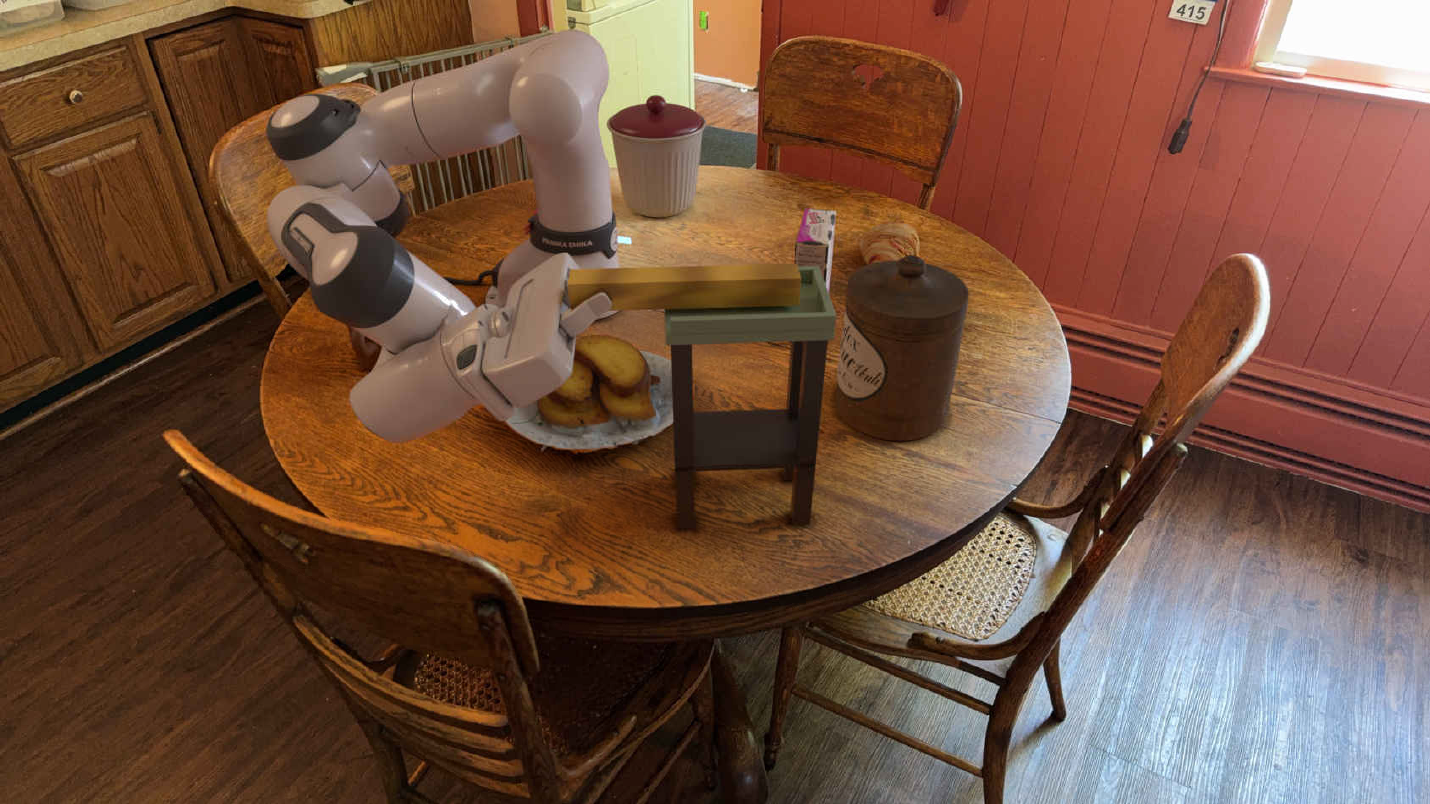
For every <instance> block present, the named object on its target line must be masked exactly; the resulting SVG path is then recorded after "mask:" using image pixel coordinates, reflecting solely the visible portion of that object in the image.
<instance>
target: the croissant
mask: <svg viewBox="0 0 1430 804" xmlns="http://www.w3.org/2000/svg"><path fill="white" fill-rule="evenodd" d="M920 246H921V245H920V238H919V234H918V232H917V231H916V229H915V228H914V227H912V226H911V225H910V224H907V223H906V222H905V221H904V220H899V219H898V220H897V219H895V220H894V221H887V222H886V221H885V222H881V223H880V224H877V225H875V226H873V227H872V228H870V229H868V230H867V231H866V232H865V233H864V234H863V235H862V236H861V238H860V240H859V250H860V253H862V254H861V255H862V256H861V257H862V260H863V261H864V262H865V265H868V264H871V263H875V262H880V261H888V260H900V259H901V258H903V257H906V256H908V255H915V256H918V257H919V256H920ZM919 258H920V257H919Z"/></svg>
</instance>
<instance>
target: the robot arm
mask: <svg viewBox="0 0 1430 804" xmlns="http://www.w3.org/2000/svg"><path fill="white" fill-rule="evenodd" d="M609 81H610V69H609V61H608V57H607V54H606V52H605V50H604V47H603V46H602V44H601V43H600V42H599V41H598V40H597V39H596V38H595V37H594V36H592V35H591V34H589V33H588V32H586V31H583V30H579V29H564V30H560V31H556V32H554V33H551V34H548V35H545V36H542V37H539V38H536V39H533V40H531V41H528V42H525V43H522V44H520V45H517V46H513V47H511V48H508V49H506V50H504V51H500V52H498V53H496V54H493V55H490V56H488V57H486V58H484V59H481V60H478V61H475V62H473V63H470V64H467V65H464V66H460V67H457V68H453V69H449V70H446V71H442V72H439V73H435V74H432V75H428V76H424V77H420V78H417V79H414V80H409V81H407V82H404V83H401V84H399V85H397V86H394V87H392V88H389V89H386V90H384V91H383V92H380V93H379V94H377V95H375V96H373V97H371V98H369V99H367V101H365V102H364V103H362V104H361V105H359V104H358V103H357V102H355V101H354V100H352V99H348V98H338V97H336V96H333V95H329V94H324V93H307V94H306V93H305V94H303V95H300V96H298V97H297V96H296V97H295V98H293V99H291V100H288V101H286V102H285V103H284V104H282V105H281V106H280V107H279V108H277V109H276V110H275V111H274V112H273V113H272V114H271V116H270V117H269V119H268V121H267V125H266V128H265V134H266V137H267V140H268V143H269V144H270V146H271V149H272V150H273V152H274V154H275V156H276V157H277V158H278V159H279V160H281V161H282V163H283V165H284V166H285V168H286V170H287V171H288V172H289V174H290V176H291V178H292V179H293V180H294V182H295V183H296V185H293V186H289V187H287V188H284V189H283V190H282V191H280V192H278V193H277V194H276V195H275V196H274V197H273V199H272V200H271V201H270V204H269V206H268V207H267V211H266V226H267V230H268V233H269V235H270V238H271V240H272V242H273V244H274V245H275V247H276V249H277V250H278V252H279V253H280V255H281V256H282V257H283V259H285V261H286V262H287V263H288V264H289V266H291V267H292V268H293V269H294V270H295V271H296V273H298V274H299V275H300V276H301V277H303V278H304V279H305V280H307V282H308V284H309V290H310V295H311V298H312V301H313V303H314V305H315V307H316V308H317V310H318V311H319V312H320V313H323V314H324V315H325V316H327V317H329V318H331V319H333V320H335V321H337V322H339V323H340V324H343V325H345V326H346V327H347V326H350V327H351V328H353V329H355V330H356V331H358V332H360V333H361V334H363V335H364V336H366V337H368V338H369V339H371V340H373V341H374V342H376V343H377V344H379V345H381V346H382V349H381V353H380V356H379V358H378V361H377V363H376V365H375V366H374V368H373V370H370V372H369V373H367V374H366V375H365V376H364V377H362V378H361V379H360V380H359V381H357V382H356V384H355V385H354V386H353V387H352V388H351V390H350V392H349V397H348V398H349V403H350V407H351V409H352V410H353V413H354V415H355V416H356V418H357V419H358V420H359V422H360V423H361V424H362V425H363V427H365V429H366V430H368V431H369V432H370V433H372V434H374V435H375V436H377V437H379V438H380V439H382V440H384V441H386V442H389V443H392V444H403V443H408V442H412V441H416V440H419V439H421V438H423V437H426V436H429V435H431V434H433V433H436V432H437V431H440V430H442V429H443V428H446V427H447V426H449V425H451V424H453V423H454V422H457V421H458V420H460V419H461V418H463V417H464V416H465V415H466V414H467V412H468V411H470V410H471V409H472V408H474V407H475V408H476V407H478V406H483V408H485V410H486V411H488V412H489V413H490V414H491V415H492V416H493V417H494V418H495V419H496V420H498V421H499V422H503V421H505V420H507V419H509V418H510V417H512V416H514V415H515V414H516V413H517V411H518V408H522V407H525V406H527V405H530V404H531V403H533V402H535V401H537V400H539V399H541V398H542V397H544V396H546V395H548V394H549V393H551V392H553V391H554V390H556V389H557V388H559V387H560V386H561V385H562V384H563V383H564V382H565V381H566V380H567V379H568V378H569V377H570V376H571V374H572V369H573V361H574V353H575V344H576V340H577V337H578V335H581V334H582V333H584V332H585V331H586V330H587V329H588V328H589V327H590V326H591V325H592V324H593V323H594V322H595V321H598V320H601V319H605V318H608V317H610V316H613V315H614V314H616V313H618V312H619V311H609V310H610V309H611V308H612V297H611V295H610V294H609V293H608V291H607V290H606V289H604V288H600V289H598V290H597V291H595V292H593V293H591V294H589V295H588V299H587V300H585V301H584V302H583V303H581V304H580V305H579V306H577V307H576V308H575V309H573V310H572V309H570V301H569V292H568V279H569V273H570V269H604V268H621V267H620V262H619V257H618V247H619V243H620V244H628V245H631V244H632V237H627V236H619V231H618V225H617V219H616V213H615V212H614V210H613V202H612V201H613V200H612V188H611V186H612V185H611V175H610V165H609V164H610V163H609V161H608V159H607V158H606V154H605V150H604V145H603V140H602V135H601V130H600V124H599V123H600V121H599V112H600V105H601V102H602V99H603V97H604V96H605V94H606V92H607V89H608V86H609ZM518 136H520V137H521V141H522V143H523V146H524V150H525V152H526V155H527V158H528V163H529V166H530V170H531V175H532V181H533V188H534V195H535V203H536V208H535V209H533V212H532V213H533V214H532V216H531V217H530V218H528V219H527V224H526V225H525V226H524V228H523V231H524V236H525V237H526V236H527V235H529V237H527V238H526V239H525V240H524V241H522V242H521V243H519V244H518V245H517V246H516V247H514V248H513V249H512V250H511V251H510V252H509V253H507V255H506V256H505V258H502V259H501V260H499V261H498V262H497V264H495V266H493V268H492V269H489V270H485V271H482V272H480V273H479V275H478V277H477V279H473V280H463V279H458V278H454V277H448V276H442V275H440V274H439V273H437V272H436V271H435V270H433V269H432V268H431V267H430V266H429V265H427V264H426V263H425V262H423V261H422V260H420V259H419V258H418V257H417V256H415V255H414V254H413V253H411V252H410V251H408V250H407V249H406V247H404V246H403V245H402V244H401V243H400V242H399V241H398V240H397V239H396V238H397V237H398V236H399V235H400V234H401V233H402V232H403V231H404V229H405V227H406V225H407V224H408V220H409V218H410V210H409V206H408V203H407V201H406V198H405V196H404V194H403V192H402V190H401V189H399V188H398V187H397V185H396V183H395V180H394V179H393V177H392V175H391V173H390V171H389V169H391V167H393V166H411V165H421V164H427V163H433V162H439V161H444V160H447V159H452V158H455V157H459V156H462V155H466V154H471V153H474V152H475V153H476V152H479V151H482V150H486V149H490V148H494V147H499V146H500V145H503V144H504V143H506V142H507V141H509V140H511V139H513V138H516V137H518ZM488 276H490V277H491V283H492V285H491V286H490V288H489V289H488V291H487V293H486V296H485V303H483V304H481V305H479V306H476V304H475V303H474V302H473V301H472V300H471V299H470V298H469V297H468V296H467V295H466V294H464V293H463V292H462V291H461V290H459V289H458V288H457V287H456V286H454V285H461V286H477V285H480V284H482V283H483V281H484V279H485V277H488Z"/></svg>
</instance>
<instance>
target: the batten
mask: <svg viewBox="0 0 1430 804" xmlns="http://www.w3.org/2000/svg"><path fill="white" fill-rule="evenodd" d="M800 286H801V277H800V273H799V270H798V266H797V264H794V263H769V264H732V265H730V264H729V265H727V264H725V265H693V266H691V265H689V266H688V265H687V266H685V265H684V266H657V267H656V266H653V267H652V266H651V267H649V266H648V267H645V266H644V267H620V268H604V269H570V273H569V279H568V292H569V301H570V309H572V310H573V309H575V308H576V307H577V306H579V305H580V304H581V303H583V302H584V301H585V300H587V299H588V295H589V294H591V293H593V292H595V291H597V290H598V289H600V288H604V289H606V290H607V291H608V293H609V294H610V295H611V297H612V308H611V309H610V310H609V311H618V312H619V311H647V310H648V311H649V310H650V311H651V310H665V309H691V308H727V307H764V306H799V300H800Z"/></svg>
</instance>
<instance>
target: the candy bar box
mask: <svg viewBox="0 0 1430 804" xmlns="http://www.w3.org/2000/svg"><path fill="white" fill-rule="evenodd" d="M836 218H837V211H836V210H830V209H821V208H820V209H819V208H817V209H815V208H804V209H803V214H802V217H801V221H800V225H799V228H798V232H797V234H796V238H795V241H794V262H793V264H797V266H819V267H820V270H821V273H822V275H823V278H824V281H825V284H826V287H827V290H828V293H829V294H830V287H831V275H832V265H833V254H834V253H833V252H834V241H835V228H836Z"/></svg>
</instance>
